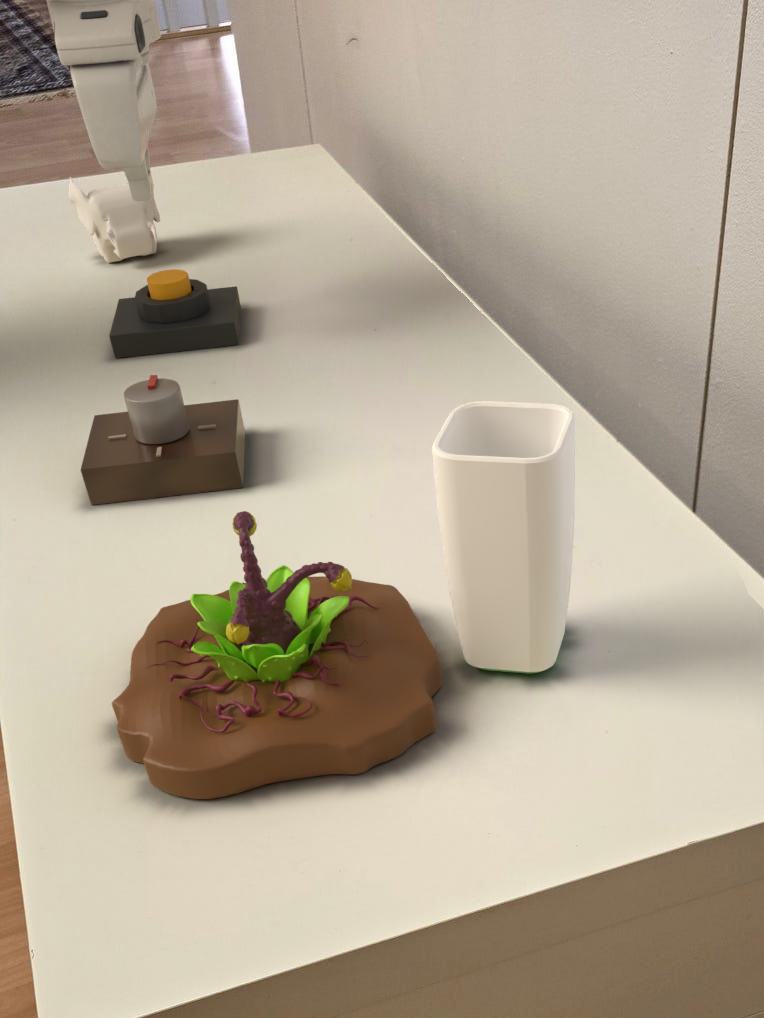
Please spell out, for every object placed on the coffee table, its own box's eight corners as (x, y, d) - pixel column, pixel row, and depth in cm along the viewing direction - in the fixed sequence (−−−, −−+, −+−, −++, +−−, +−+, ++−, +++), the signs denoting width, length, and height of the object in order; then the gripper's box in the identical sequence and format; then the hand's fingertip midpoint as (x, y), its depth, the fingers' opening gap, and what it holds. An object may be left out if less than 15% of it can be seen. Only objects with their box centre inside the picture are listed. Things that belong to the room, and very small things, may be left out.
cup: (581, 624, 80) (579, 403, 70) (561, 690, 75) (556, 462, 64) (473, 616, 81) (456, 399, 71) (446, 680, 76) (424, 456, 66)
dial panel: (91, 505, 96) (79, 467, 94) (104, 449, 103) (93, 413, 101) (243, 487, 97) (235, 450, 94) (245, 433, 104) (238, 397, 102)
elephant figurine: (101, 281, 134) (78, 193, 128) (79, 251, 142) (56, 167, 136) (185, 263, 137) (166, 176, 130) (159, 235, 145) (139, 151, 138)
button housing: (115, 358, 118) (103, 316, 115) (124, 320, 125) (113, 280, 122) (239, 345, 118) (230, 302, 116) (241, 308, 125) (233, 267, 123)
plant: (417, 586, 84) (400, 431, 77) (463, 761, 70) (447, 593, 63) (127, 628, 83) (79, 474, 75) (114, 816, 69) (54, 651, 61)
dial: (187, 441, 96) (175, 394, 94) (131, 447, 96) (118, 400, 94) (192, 418, 100) (181, 371, 97) (138, 423, 99) (126, 377, 97)
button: (149, 304, 118) (144, 285, 116) (152, 290, 120) (148, 271, 119) (190, 300, 118) (186, 281, 117) (193, 285, 121) (189, 267, 119)
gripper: (81, -1, 111) (119, 168, 120) (51, 45, 96) (98, 233, 105) (151, -6, 111) (184, 162, 121) (132, 38, 96) (171, 227, 106)
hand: (144, 196), depth 113 cm, fingers closed
